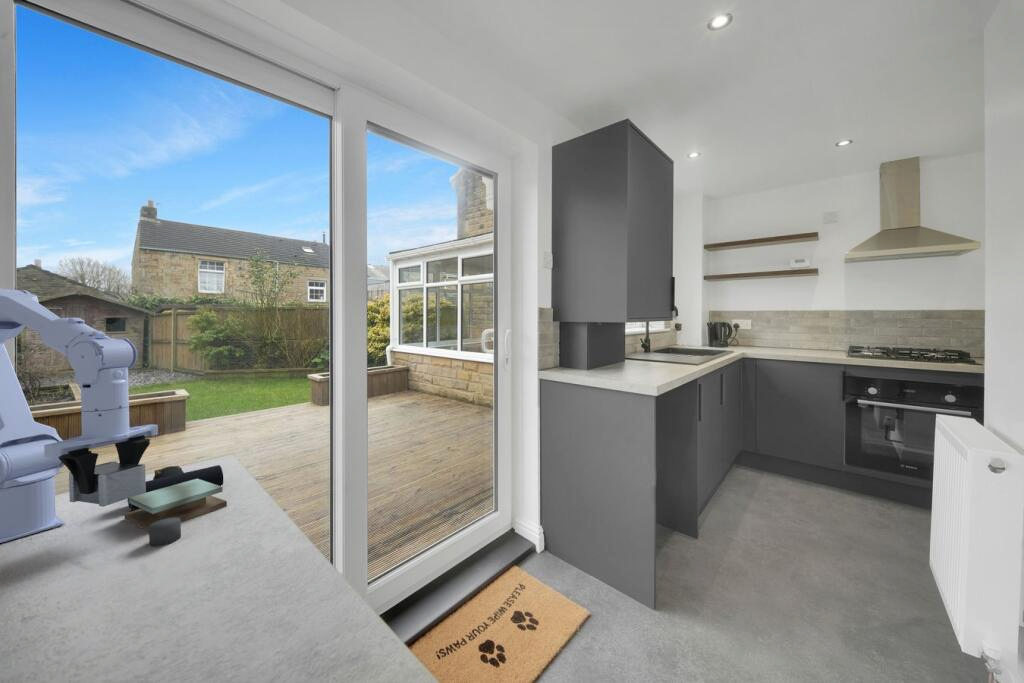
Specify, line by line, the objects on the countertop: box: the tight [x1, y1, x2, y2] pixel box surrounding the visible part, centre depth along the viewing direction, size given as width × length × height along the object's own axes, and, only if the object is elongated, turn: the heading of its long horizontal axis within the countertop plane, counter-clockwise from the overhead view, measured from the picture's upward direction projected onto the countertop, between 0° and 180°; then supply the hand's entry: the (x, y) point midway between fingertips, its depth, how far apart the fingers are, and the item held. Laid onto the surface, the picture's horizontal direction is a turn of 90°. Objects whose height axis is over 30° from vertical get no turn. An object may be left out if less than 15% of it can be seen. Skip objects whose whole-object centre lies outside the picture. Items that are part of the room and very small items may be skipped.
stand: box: [124, 479, 228, 532], centre depth 77 cm, size 12×11×4 cm
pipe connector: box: [127, 464, 224, 511], centre depth 86 cm, size 12×5×15 cm
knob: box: [148, 518, 182, 548], centre depth 66 cm, size 4×4×3 cm
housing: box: [68, 460, 147, 508], centre depth 68 cm, size 8×6×5 cm
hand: (107, 486), depth 68 cm, fingers closed on housing, 5 cm apart
